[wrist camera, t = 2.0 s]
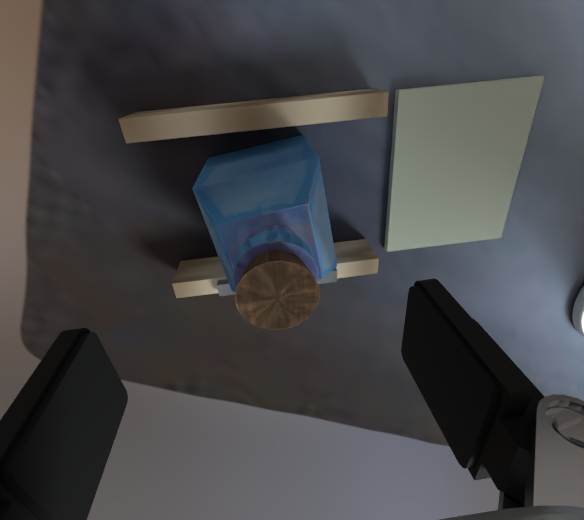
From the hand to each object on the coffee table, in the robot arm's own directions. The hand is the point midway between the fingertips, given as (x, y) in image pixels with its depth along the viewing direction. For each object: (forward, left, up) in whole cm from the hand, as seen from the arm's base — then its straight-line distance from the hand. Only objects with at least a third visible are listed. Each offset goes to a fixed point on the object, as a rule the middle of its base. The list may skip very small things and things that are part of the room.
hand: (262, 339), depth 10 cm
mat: (-14, 0, -14) cm, 20 cm away
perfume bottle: (-1, 0, -15) cm, 15 cm away
